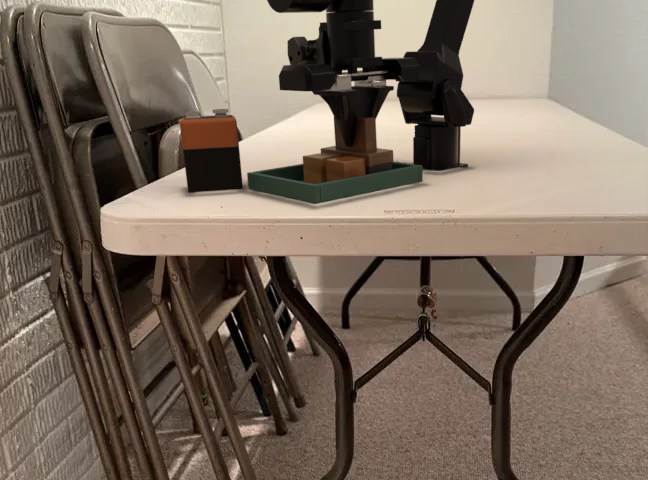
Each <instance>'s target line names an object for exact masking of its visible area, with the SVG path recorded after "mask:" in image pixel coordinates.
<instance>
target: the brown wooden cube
mask: <svg viewBox="0 0 648 480" xmlns="http://www.w3.org/2000/svg"><path fill="white" fill-rule="evenodd" d="M338 157H341V155H336V154H329V153H321V152H319V153H313V154H307V155H302V164H303V169H304V182H306V183H311V184H319V183H325V182H327V176H326V159H332V158H338Z"/></svg>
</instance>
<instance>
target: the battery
mask: <svg viewBox="0 0 648 480" xmlns="http://www.w3.org/2000/svg"><path fill="white" fill-rule="evenodd" d="M228 113H229V108H214V109H213V108H212V114H214V115H204V116H203V115H201V116H200V112H199V111H195V110H194V111H186V112H185V115H186V116H184V117H182V118H181V119H180V121H179V128H180V136H181V137H180V138H181V144H182V154H183V161H184V169H185V178H186V185H187V192H188V193H203V192H204V193H205V192H218V191H219V192H220V191H232V190H243V189H244V185H243V184H244V183H243V174H242V164H241V163H242V162H241V153H240V142H239V133H238V121H237V119H236V117H235V116H234V115H233V114H228Z"/></svg>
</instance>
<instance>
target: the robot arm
mask: <svg viewBox="0 0 648 480" xmlns="http://www.w3.org/2000/svg"><path fill="white" fill-rule="evenodd" d="M266 2H267V3H268V5H269V7H270V8H271V9H272V10H273V11H274V12H275V13H279V14H295V13H296V14H298V13H301V14H302V13H303V14H304V13H305V14H306V13H322V12H324V11H325V18H326V19H325V21H324V22H319V26H318V37H317V38H315V39H309V40H308V39H307V38H306V37H305V36H292V37H291V38H289V39H288V40H287V58H288V61H289V64H285V65H284V64H283V66H282V68H281V69H280V72H279V75H278V85H279V91H286V92H288V91H289V92H312V94H313V95H314V96H319V97H320V98H321V99H322V100H323V101H324V102H325V103H326V105H328V108H329V109H330V111H331V113H332V116H333V119H334V118H335V120H336V123H337V125H338V128H339V130H340V133H341V135H342V138H343V140H344V143H345V145H346V146H348V147H352V146H353V144H354V139H355V132H356V122H357V116H364V117H375V118H376V119H377V117H378V115H379V113H380V111H381V109H382V107H383V105H384V104H385V101H386V99H387V97H388V95H389V93H390V92H393V91H394V89H395V86H394V85H387V81H389V80H391V81H392V80H394V81H395V82H398V83H397V87H396V98H398V101H399V105H400V109H401V112H402V116H403V120H404V123H405V124H406V125H412V124H413V125H414V136H413V137H412V145H413V146H412V148H413V149H412V153H413V154H412V159H413V162H412V164H416V165H422V166H423V170H428V171H429V170H430V171H434V172H442V171H447V170H452V169H457V168H462V169H464V168H465V169H466V168H469V163H465V162H461V134H462V133H461V128H462V127H466V126H469V125H472V123H473V118H474V114H475V108H474V106H473V105H472V104H471V102H470V100H469V99H468V97H467V96H466V95H465V92H464V91H463V90H462V87H463V81H464V72H463V67H462V64H461V63H462V62H461V60H460V59H461V58H460V50H461V47H462V43H463V41H464V37H465V34H466V30H467V27H468V24H469V21H470V18H471V17H470V16H471V14H472V11H473V7H474V3H475V0H436V1H435V3H434V7H433V11H432V15H431V18H430V22H429V25H428V27H427V31H426V35H425V38H424V41H423V44H422V45H421V46H420V48H418V49H417V50H416V51H405V53H404V55H403V57H383V56H376V44H375V43H376V42H375V41H376V40H375V39H376V38H375V30H382V20H381V19H375V11H374V9H375V8H374V0H266ZM358 69H360V70H358ZM352 82H354V83H353V85H352Z"/></svg>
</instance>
